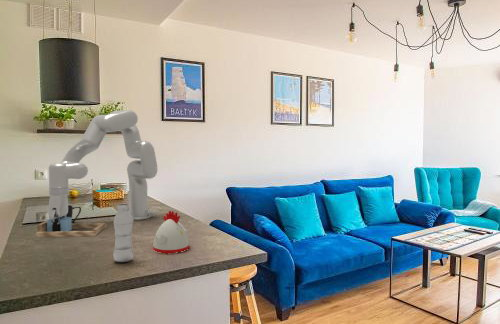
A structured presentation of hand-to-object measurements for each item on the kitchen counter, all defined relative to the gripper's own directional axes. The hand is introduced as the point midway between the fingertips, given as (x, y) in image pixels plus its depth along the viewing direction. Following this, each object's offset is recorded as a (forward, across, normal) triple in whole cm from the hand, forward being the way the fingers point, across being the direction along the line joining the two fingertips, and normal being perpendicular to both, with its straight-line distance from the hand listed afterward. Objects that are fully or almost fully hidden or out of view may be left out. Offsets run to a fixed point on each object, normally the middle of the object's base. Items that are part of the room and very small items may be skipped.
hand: (59, 230), depth 160 cm
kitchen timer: (+2, +25, +52) cm, 57 cm away
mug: (+2, -18, -3) cm, 18 cm away
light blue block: (+1, 0, 0) cm, 1 cm away
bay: (+2, 0, +6) cm, 6 cm away
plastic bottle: (+2, +39, +37) cm, 54 cm away
